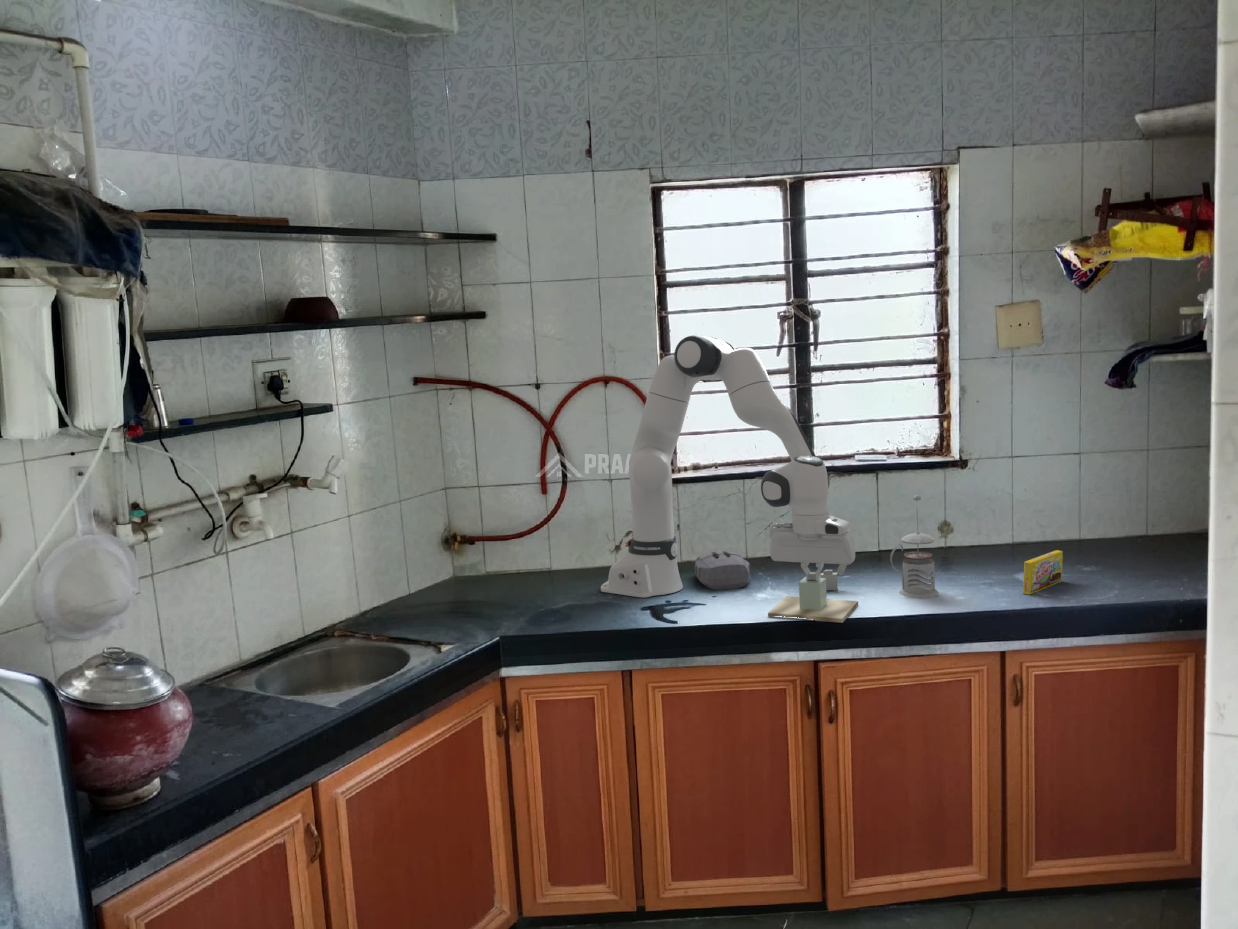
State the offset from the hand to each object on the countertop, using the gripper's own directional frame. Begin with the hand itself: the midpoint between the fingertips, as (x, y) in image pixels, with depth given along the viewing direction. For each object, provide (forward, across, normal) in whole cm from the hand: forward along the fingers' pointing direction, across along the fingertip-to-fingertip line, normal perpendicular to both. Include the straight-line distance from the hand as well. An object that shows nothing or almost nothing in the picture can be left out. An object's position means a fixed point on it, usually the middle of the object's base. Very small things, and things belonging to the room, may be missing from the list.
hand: (813, 580), depth 239 cm
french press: (+8, +20, +22) cm, 31 cm away
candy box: (+8, +49, +34) cm, 60 cm away
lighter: (+8, 0, +20) cm, 21 cm away
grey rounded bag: (+8, -32, +22) cm, 40 cm away
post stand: (+8, 0, 0) cm, 8 cm away
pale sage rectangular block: (+7, 0, 0) cm, 7 cm away
